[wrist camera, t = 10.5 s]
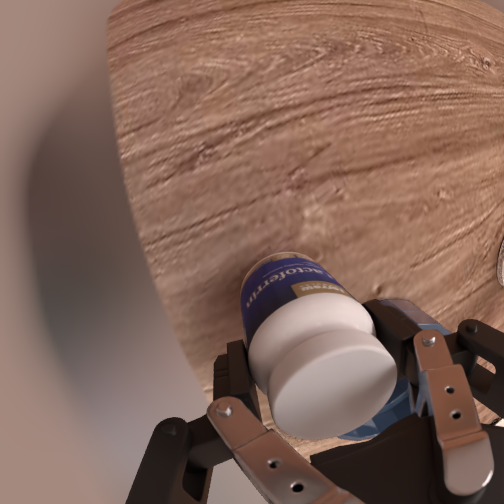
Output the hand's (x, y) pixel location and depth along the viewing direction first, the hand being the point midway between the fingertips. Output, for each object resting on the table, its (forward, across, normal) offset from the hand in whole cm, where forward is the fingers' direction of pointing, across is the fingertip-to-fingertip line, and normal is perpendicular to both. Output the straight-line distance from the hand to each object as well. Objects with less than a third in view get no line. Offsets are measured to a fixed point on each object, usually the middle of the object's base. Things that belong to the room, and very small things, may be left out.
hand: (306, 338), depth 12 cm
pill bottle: (+6, 0, 0) cm, 6 cm away
